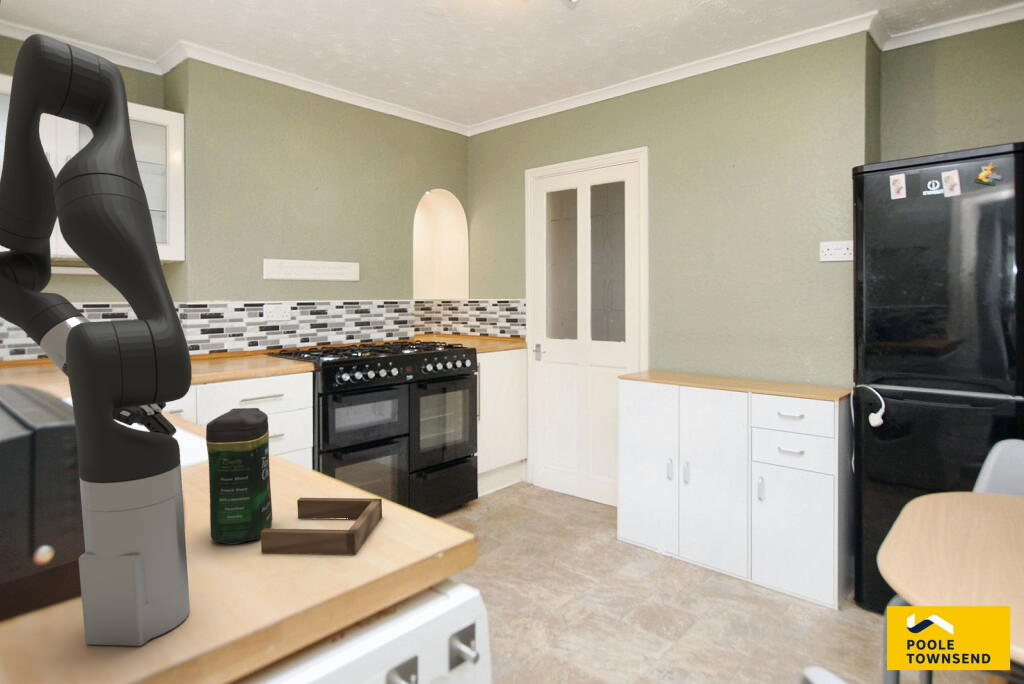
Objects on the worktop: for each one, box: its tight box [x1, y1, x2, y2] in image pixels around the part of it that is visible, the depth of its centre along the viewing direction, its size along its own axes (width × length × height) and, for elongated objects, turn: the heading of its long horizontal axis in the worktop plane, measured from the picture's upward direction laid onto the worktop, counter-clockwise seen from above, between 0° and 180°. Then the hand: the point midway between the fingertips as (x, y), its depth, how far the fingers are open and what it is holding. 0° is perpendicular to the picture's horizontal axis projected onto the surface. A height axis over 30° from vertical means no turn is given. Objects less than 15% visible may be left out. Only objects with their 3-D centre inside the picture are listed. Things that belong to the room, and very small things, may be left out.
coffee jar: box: [205, 407, 273, 545], centre depth 90 cm, size 10×8×19 cm
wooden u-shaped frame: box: [260, 497, 383, 555], centre depth 89 cm, size 13×13×3 cm
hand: (170, 436), depth 90 cm, fingers closed
